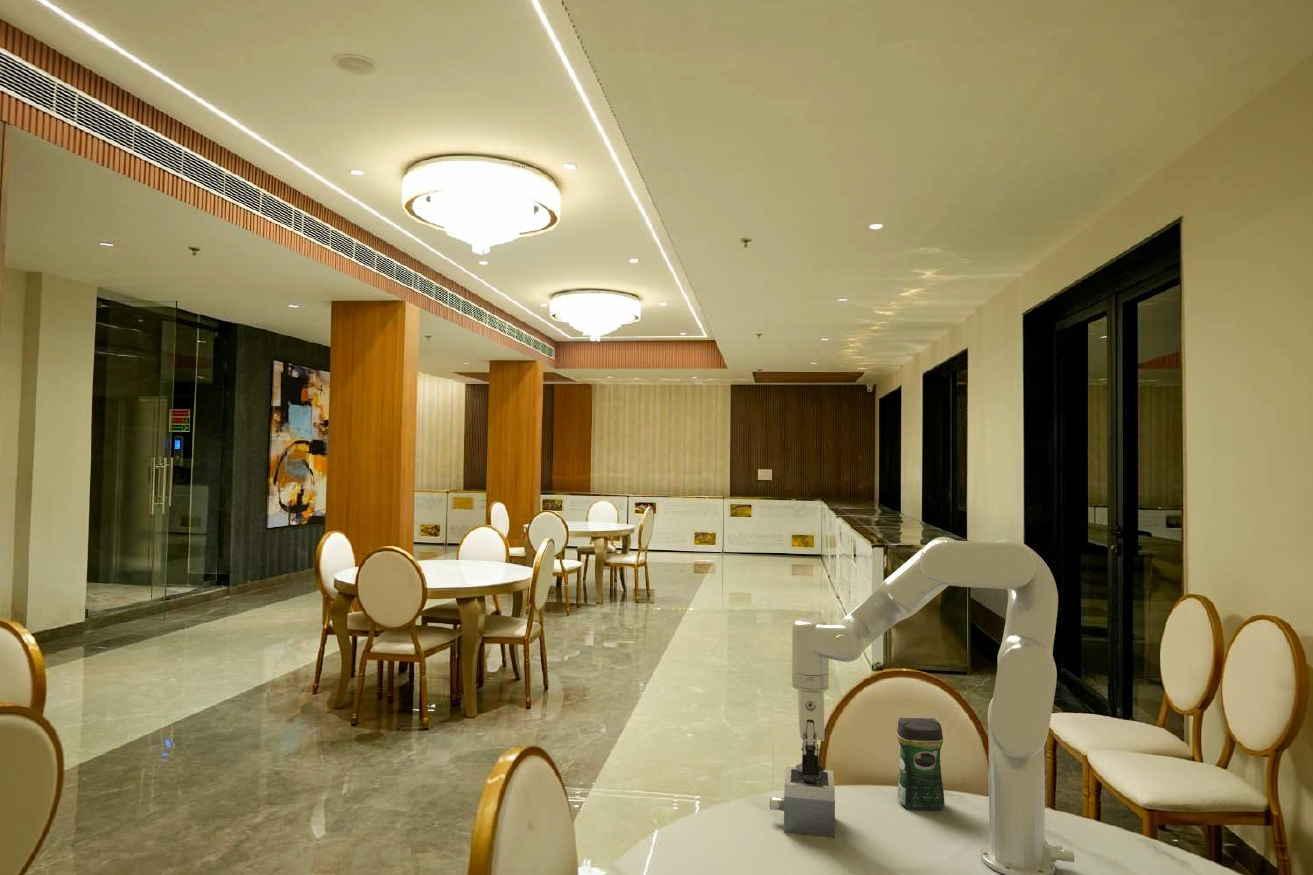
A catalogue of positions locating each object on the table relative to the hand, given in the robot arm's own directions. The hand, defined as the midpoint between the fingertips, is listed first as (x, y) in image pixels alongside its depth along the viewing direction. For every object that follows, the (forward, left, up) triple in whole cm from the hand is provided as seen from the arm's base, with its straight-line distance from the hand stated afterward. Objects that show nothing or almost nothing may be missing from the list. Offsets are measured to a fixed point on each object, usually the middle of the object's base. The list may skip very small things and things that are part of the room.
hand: (810, 767), depth 160 cm
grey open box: (+2, -1, -11) cm, 12 cm away
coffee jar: (-24, -16, -12) cm, 31 cm away
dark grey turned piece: (0, 0, -4) cm, 4 cm away
